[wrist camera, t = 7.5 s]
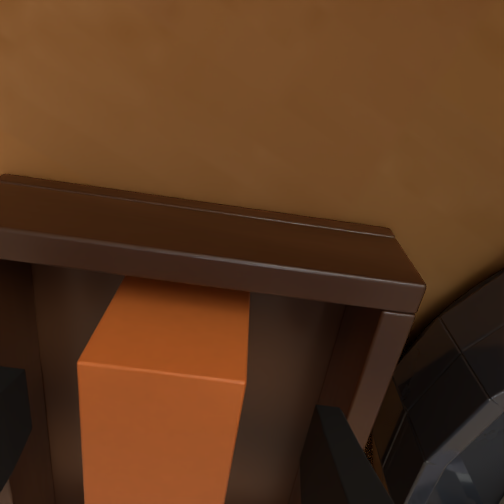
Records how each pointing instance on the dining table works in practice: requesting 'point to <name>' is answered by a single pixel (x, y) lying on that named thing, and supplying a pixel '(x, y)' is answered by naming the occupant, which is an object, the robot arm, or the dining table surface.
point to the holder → (211, 275)
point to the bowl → (448, 407)
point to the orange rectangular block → (163, 393)
